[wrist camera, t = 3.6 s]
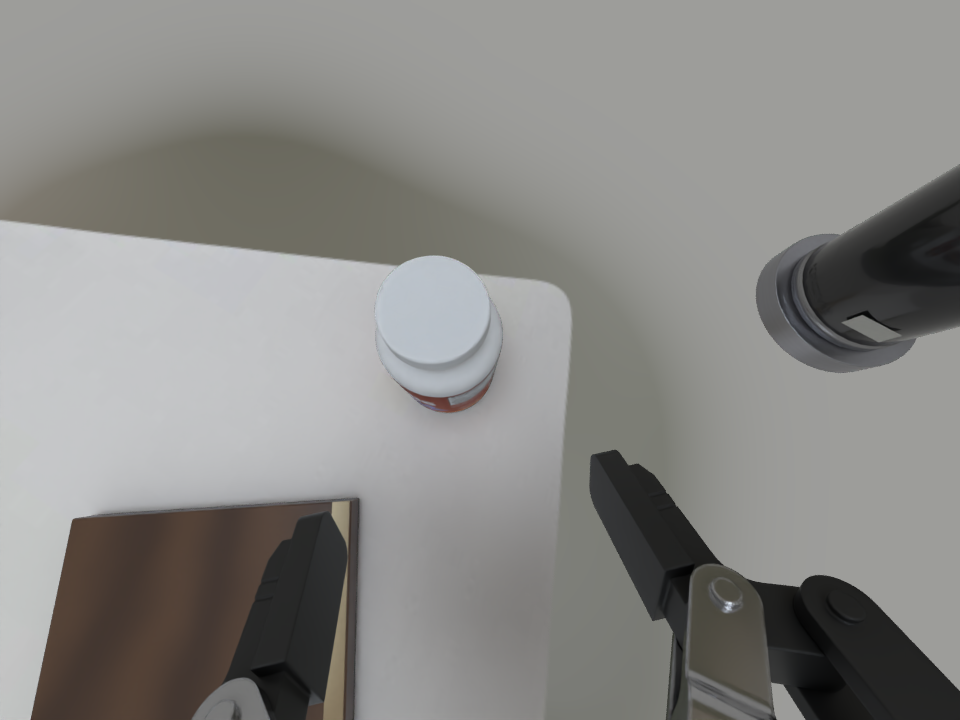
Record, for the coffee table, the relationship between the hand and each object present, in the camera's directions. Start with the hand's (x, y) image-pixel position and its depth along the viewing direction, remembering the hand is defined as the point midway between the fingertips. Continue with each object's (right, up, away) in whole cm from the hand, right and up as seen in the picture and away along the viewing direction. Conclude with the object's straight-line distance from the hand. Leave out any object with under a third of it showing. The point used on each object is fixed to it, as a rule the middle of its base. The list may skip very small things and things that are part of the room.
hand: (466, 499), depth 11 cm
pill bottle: (-2, +4, +14) cm, 15 cm away
